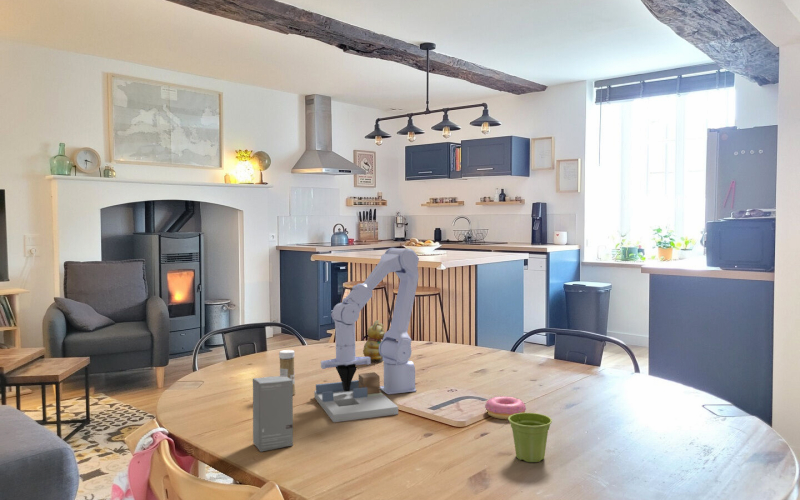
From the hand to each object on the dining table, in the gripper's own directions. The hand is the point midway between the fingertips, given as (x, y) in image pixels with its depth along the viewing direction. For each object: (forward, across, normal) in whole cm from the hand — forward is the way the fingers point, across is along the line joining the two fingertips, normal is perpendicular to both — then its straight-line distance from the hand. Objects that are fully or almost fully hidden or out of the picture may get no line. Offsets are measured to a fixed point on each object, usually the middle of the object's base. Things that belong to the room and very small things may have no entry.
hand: (346, 390), depth 178 cm
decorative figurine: (+3, +23, +46) cm, 51 cm away
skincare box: (+3, -25, -27) cm, 37 cm away
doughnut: (+4, +37, -28) cm, 46 cm away
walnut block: (+1, +7, 0) cm, 7 cm away
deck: (+3, +1, -5) cm, 6 cm away
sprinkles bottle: (+3, -15, +13) cm, 20 cm away
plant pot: (+3, +27, -56) cm, 62 cm away
